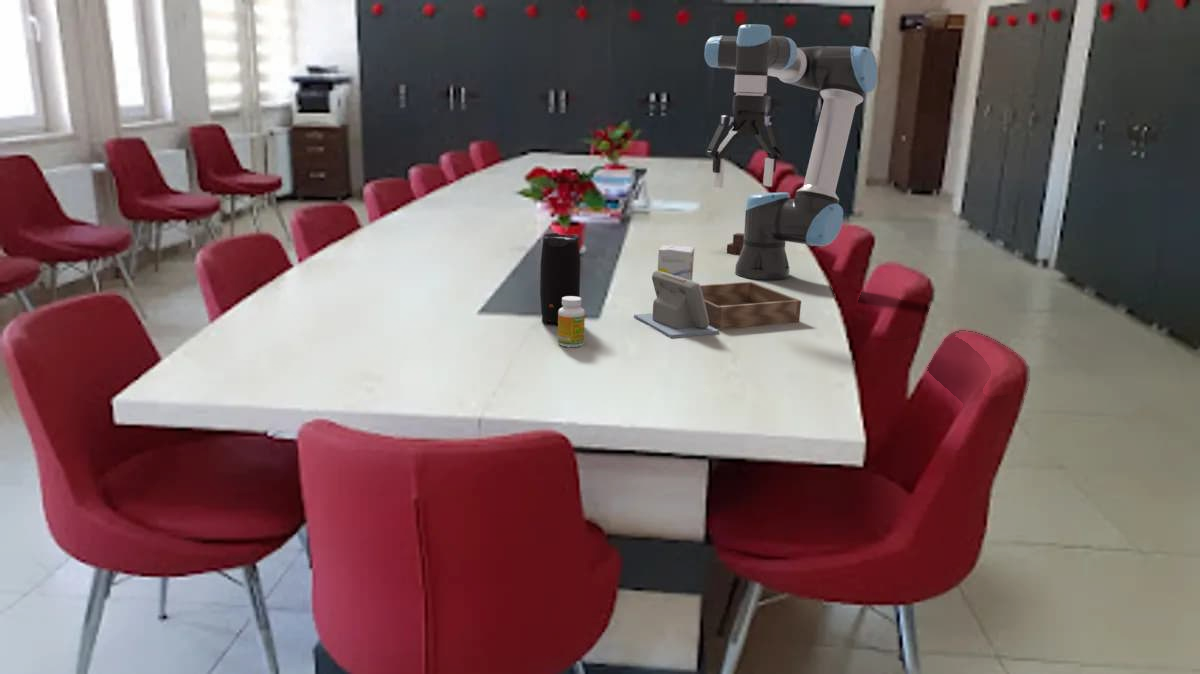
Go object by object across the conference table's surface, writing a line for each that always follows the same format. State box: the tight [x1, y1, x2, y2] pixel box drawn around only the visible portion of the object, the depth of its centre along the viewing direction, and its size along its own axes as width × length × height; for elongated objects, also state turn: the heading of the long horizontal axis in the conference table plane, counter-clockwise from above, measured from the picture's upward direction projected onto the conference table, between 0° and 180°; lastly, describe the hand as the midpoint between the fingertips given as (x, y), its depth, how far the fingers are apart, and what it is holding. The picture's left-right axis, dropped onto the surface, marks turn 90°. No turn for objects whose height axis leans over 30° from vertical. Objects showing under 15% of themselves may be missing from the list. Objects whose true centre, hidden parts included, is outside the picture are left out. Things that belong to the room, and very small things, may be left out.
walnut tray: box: [700, 281, 802, 330], centre depth 219 cm, size 22×21×5 cm
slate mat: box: [633, 312, 720, 339], centre depth 208 cm, size 12×18×1 cm, turn 23°
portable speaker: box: [539, 232, 581, 324], centre depth 205 cm, size 9×9×20 cm
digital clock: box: [651, 270, 709, 329], centre depth 207 cm, size 16×9×11 cm, turn 22°
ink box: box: [657, 244, 695, 281], centre depth 238 cm, size 9×9×12 cm
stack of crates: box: [726, 232, 744, 256], centre depth 296 cm, size 15×15×7 cm
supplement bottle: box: [557, 296, 586, 348], centre depth 190 cm, size 5×5×10 cm
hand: (743, 186), depth 222 cm, fingers open, 13 cm apart
